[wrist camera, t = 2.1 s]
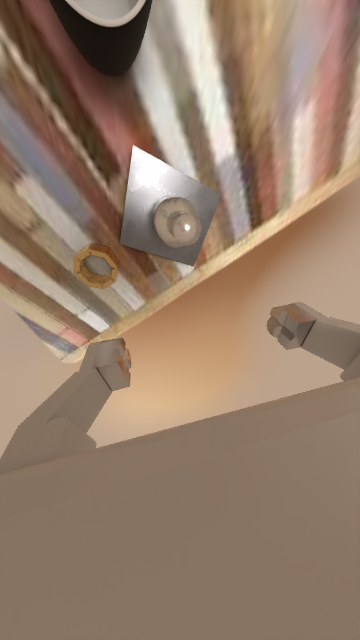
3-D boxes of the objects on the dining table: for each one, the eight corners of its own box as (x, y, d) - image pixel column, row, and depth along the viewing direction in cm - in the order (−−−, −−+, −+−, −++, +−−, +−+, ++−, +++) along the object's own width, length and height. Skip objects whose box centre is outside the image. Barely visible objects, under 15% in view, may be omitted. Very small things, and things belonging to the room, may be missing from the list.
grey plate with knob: (120, 240, 28) (116, 264, 18) (132, 150, 22) (137, 115, 12) (188, 261, 34) (214, 289, 24) (214, 194, 28) (261, 195, 18)
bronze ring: (79, 274, 30) (74, 283, 27) (79, 239, 27) (73, 244, 24) (115, 281, 33) (114, 290, 30) (119, 250, 29) (119, 257, 26)
